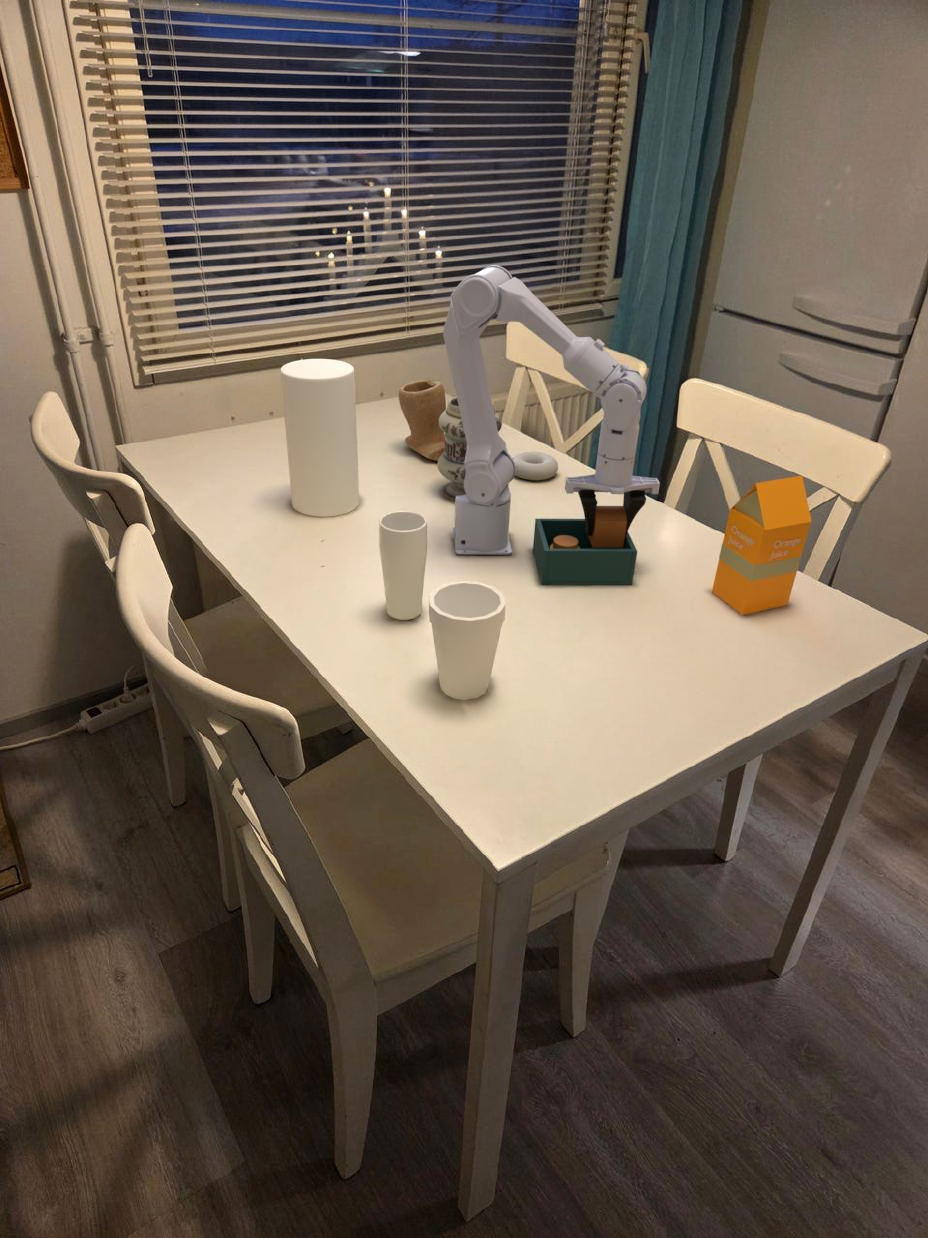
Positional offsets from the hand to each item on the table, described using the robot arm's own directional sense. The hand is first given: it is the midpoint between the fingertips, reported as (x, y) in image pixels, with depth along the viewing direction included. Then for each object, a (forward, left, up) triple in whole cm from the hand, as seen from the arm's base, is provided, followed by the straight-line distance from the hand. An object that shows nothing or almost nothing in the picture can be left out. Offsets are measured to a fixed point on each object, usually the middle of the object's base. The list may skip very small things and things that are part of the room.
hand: (605, 533), depth 134 cm
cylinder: (-48, +25, -6) cm, 54 cm away
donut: (-7, +40, -6) cm, 41 cm away
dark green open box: (-4, 0, -6) cm, 7 cm away
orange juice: (+21, -10, -6) cm, 25 cm away
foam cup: (-25, -32, -6) cm, 41 cm away
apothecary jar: (-21, +30, -6) cm, 36 cm away
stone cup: (-28, +51, -6) cm, 58 cm away
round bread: (-7, -1, -6) cm, 9 cm away
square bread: (0, 0, -1) cm, 1 cm away
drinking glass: (-33, -14, -6) cm, 36 cm away
